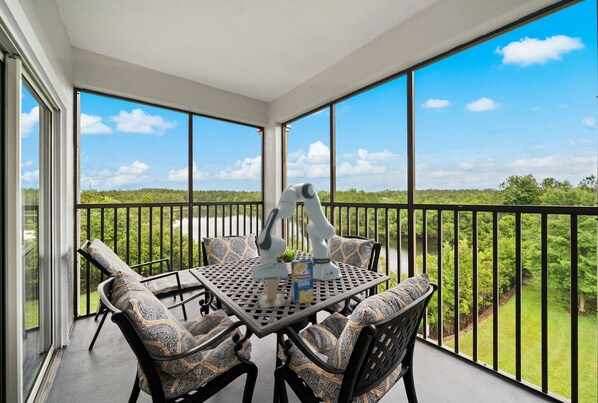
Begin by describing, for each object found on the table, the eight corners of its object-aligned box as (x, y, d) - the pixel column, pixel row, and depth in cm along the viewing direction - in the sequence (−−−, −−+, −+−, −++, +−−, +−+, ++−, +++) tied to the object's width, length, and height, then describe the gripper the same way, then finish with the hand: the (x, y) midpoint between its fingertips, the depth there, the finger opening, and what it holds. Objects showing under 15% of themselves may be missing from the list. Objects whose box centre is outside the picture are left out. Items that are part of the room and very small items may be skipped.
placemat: (281, 295, 152) (281, 293, 152) (286, 305, 138) (286, 303, 138) (257, 297, 148) (257, 295, 148) (260, 308, 135) (260, 306, 135)
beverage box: (291, 298, 147) (291, 260, 146) (310, 296, 149) (309, 259, 148) (294, 303, 140) (293, 264, 139) (313, 301, 142) (313, 262, 142)
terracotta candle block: (275, 294, 146) (275, 277, 146) (277, 298, 141) (276, 280, 141) (266, 295, 145) (265, 278, 145) (267, 299, 140) (267, 281, 139)
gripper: (251, 262, 146) (252, 285, 137) (286, 259, 152) (290, 281, 142) (250, 268, 151) (252, 290, 142) (284, 265, 156) (288, 286, 147)
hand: (271, 286), depth 142 cm, fingers closed on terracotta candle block, 5 cm apart
